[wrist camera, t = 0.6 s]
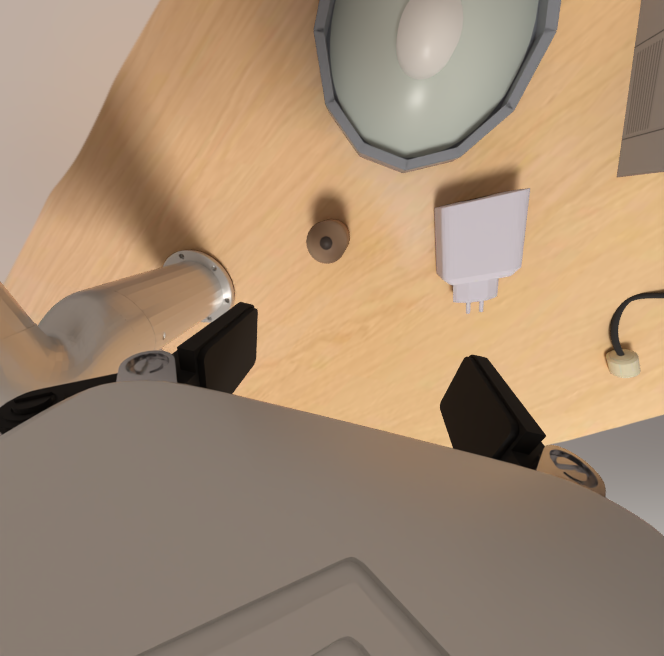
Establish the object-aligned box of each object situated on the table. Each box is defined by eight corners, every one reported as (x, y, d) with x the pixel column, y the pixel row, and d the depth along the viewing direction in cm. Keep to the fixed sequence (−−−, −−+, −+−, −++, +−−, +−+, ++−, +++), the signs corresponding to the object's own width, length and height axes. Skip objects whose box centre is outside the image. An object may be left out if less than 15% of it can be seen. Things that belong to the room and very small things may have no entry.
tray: (396, 209, 32) (398, 209, 30) (281, 44, 27) (273, 30, 25) (584, 46, 24) (606, 30, 22) (473, -246, 18) (487, -308, 16)
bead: (331, 262, 37) (324, 271, 32) (309, 235, 36) (298, 240, 30) (356, 239, 35) (354, 245, 30) (334, 210, 34) (327, 211, 28)
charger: (436, 310, 38) (432, 207, 32) (501, 301, 36) (511, 189, 30) (445, 323, 34) (442, 207, 28) (519, 314, 32) (534, 187, 26)
